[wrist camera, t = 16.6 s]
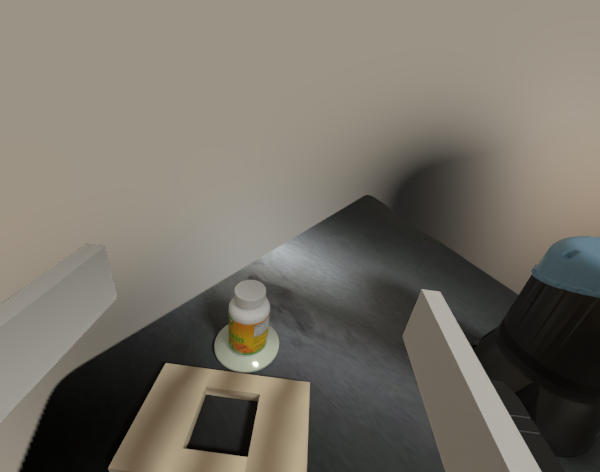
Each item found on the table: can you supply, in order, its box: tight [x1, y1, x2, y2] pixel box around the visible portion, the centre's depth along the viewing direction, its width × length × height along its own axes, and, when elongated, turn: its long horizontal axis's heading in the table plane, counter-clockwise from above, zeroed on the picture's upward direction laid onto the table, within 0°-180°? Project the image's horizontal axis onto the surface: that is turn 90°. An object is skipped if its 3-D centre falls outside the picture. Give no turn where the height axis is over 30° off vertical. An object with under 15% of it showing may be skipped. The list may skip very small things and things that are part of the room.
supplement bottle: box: [228, 280, 270, 357], centre depth 38 cm, size 5×5×10 cm
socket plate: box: [108, 363, 310, 472], centre depth 31 cm, size 18×11×2 cm, turn 86°
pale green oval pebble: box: [214, 325, 279, 374], centre depth 41 cm, size 9×9×1 cm
